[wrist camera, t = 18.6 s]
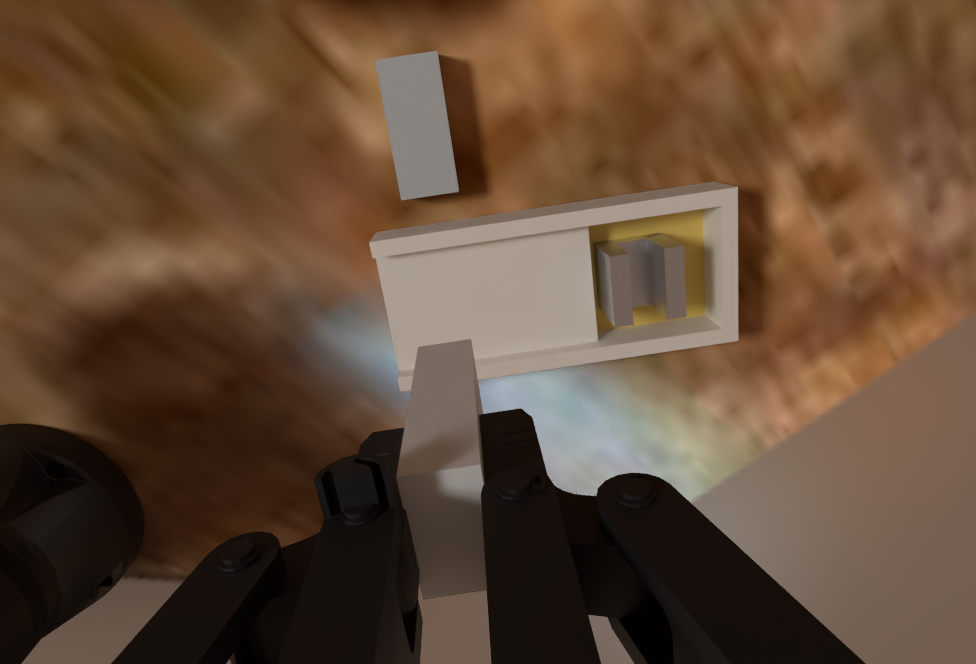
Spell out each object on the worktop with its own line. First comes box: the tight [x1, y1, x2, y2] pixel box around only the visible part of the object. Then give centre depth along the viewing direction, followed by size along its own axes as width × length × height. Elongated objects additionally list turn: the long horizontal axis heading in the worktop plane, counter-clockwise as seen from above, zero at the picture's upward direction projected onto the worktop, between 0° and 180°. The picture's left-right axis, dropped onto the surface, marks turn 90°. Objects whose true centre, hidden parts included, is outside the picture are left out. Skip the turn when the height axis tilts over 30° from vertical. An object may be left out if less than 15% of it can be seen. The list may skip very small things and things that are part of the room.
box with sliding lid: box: [369, 182, 738, 392], centre depth 40 cm, size 22×10×4 cm, turn 98°
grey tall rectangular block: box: [375, 51, 459, 200], centre depth 37 cm, size 4×8×2 cm, turn 8°
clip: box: [593, 233, 686, 328], centre depth 39 cm, size 4×4×4 cm
